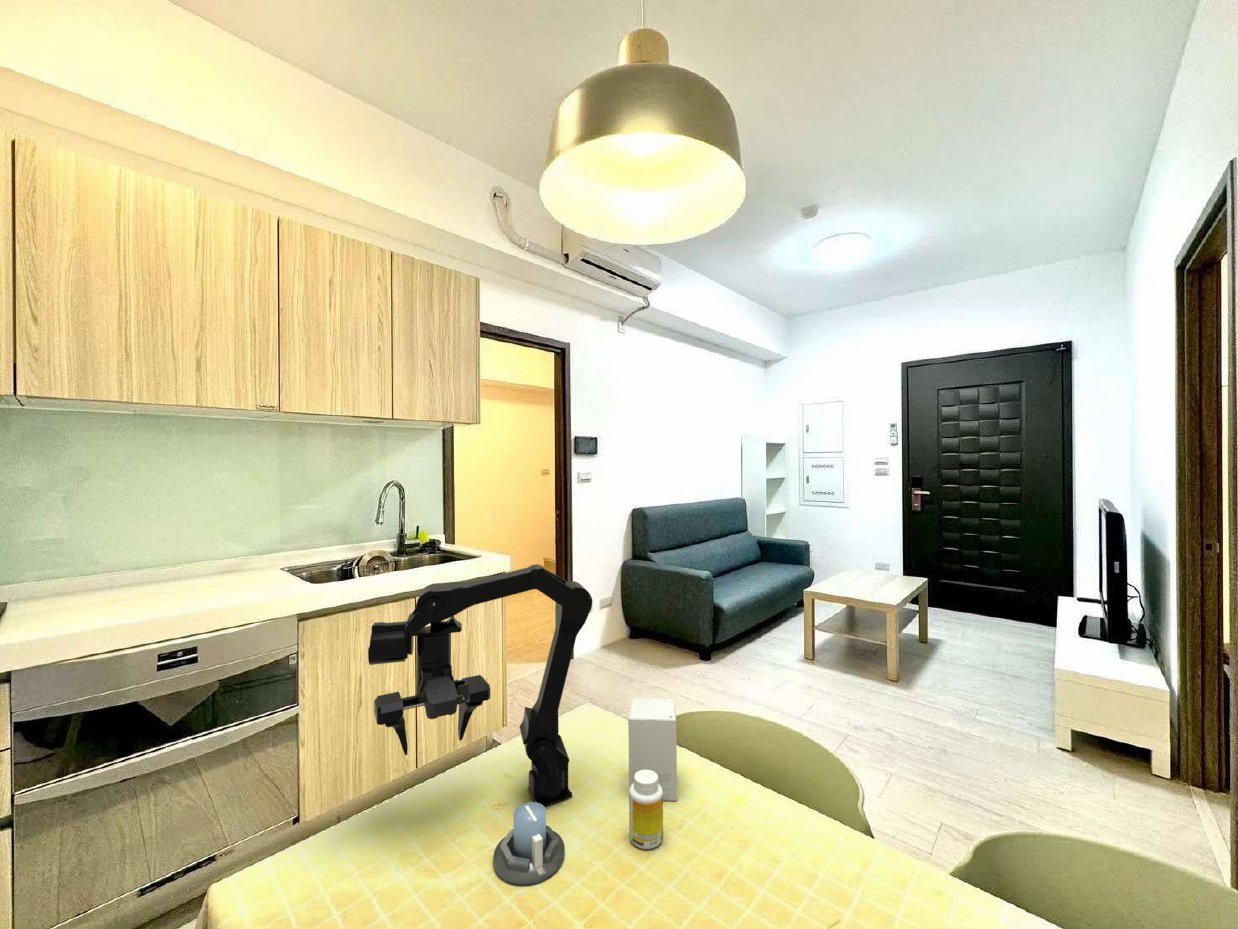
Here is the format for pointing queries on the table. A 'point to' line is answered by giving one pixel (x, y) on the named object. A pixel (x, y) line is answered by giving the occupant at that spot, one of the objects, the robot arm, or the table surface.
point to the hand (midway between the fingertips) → (433, 746)
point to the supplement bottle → (646, 810)
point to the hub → (528, 861)
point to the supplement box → (654, 742)
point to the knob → (530, 832)
